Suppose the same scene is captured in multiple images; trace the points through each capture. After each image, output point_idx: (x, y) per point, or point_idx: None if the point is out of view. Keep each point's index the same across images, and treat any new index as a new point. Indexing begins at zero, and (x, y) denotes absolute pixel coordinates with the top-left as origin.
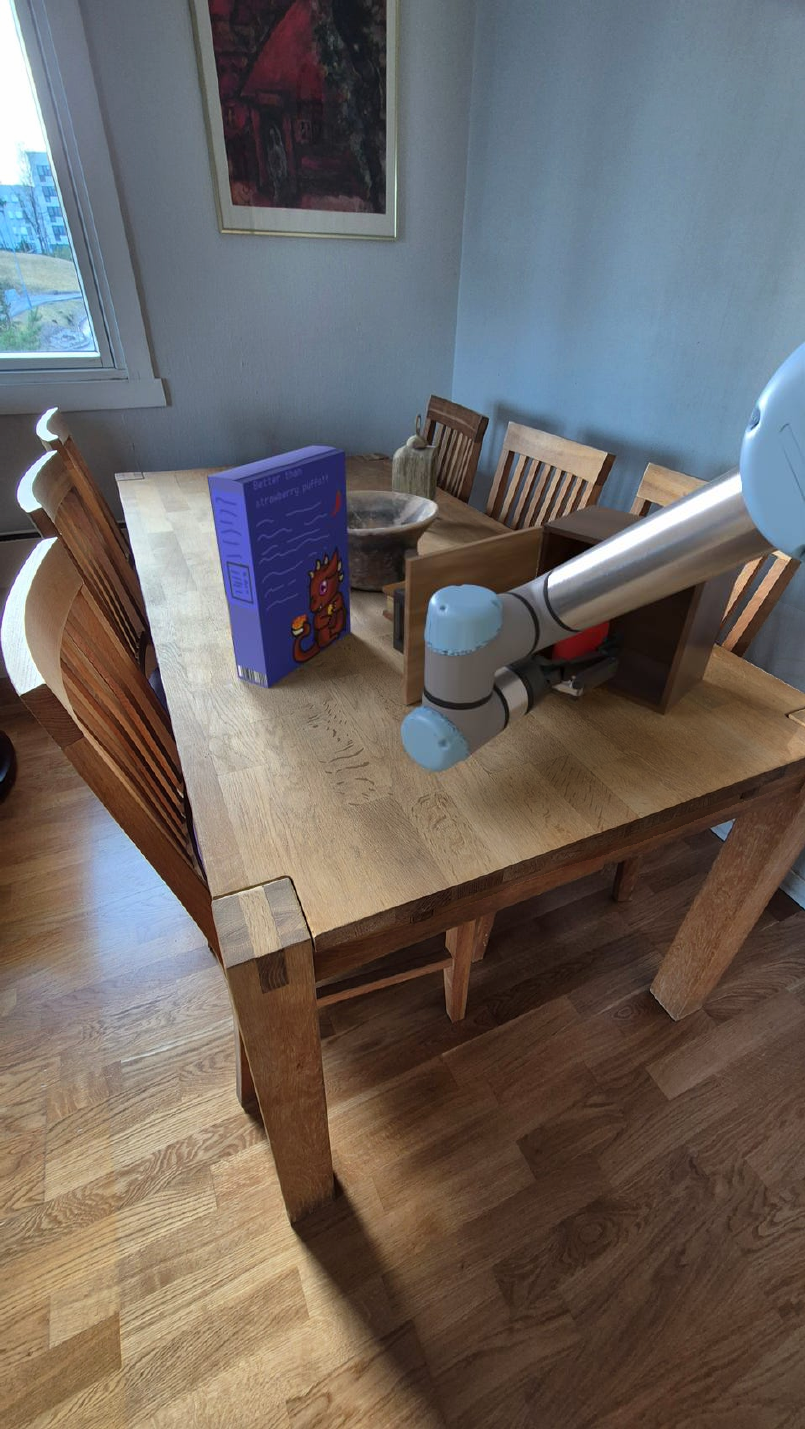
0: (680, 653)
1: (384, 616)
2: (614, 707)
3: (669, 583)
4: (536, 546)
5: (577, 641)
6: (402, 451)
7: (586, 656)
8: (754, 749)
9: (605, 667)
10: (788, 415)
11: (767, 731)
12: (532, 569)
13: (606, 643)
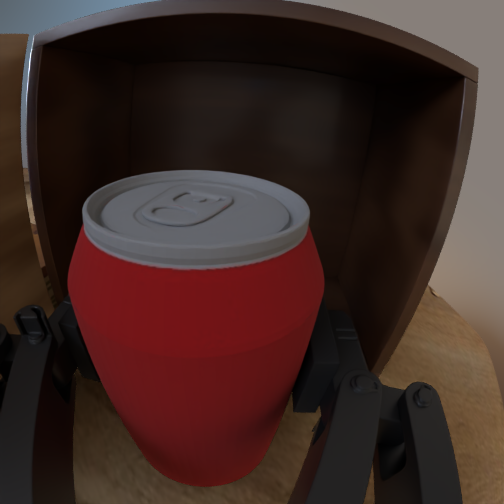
0: (429, 269)
1: None
2: (304, 418)
3: None
4: (10, 79)
5: (220, 402)
6: None
7: (337, 486)
8: (473, 361)
9: (457, 483)
10: None
11: (451, 325)
12: (7, 142)
13: (323, 328)
